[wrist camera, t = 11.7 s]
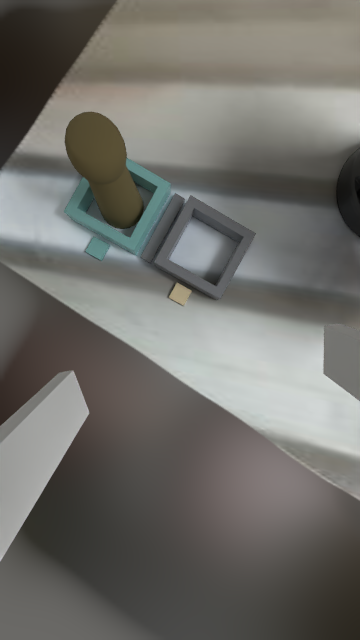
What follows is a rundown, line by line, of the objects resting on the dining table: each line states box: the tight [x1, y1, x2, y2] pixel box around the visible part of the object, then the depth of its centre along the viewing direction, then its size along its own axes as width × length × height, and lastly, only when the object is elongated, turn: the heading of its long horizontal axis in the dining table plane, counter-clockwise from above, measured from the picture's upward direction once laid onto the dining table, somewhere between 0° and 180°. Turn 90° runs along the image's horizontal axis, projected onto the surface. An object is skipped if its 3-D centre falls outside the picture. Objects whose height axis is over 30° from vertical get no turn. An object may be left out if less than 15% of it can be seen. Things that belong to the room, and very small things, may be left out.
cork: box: [65, 112, 144, 229], centre depth 22 cm, size 6×6×11 cm
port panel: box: [64, 158, 256, 306], centre depth 26 cm, size 13×23×2 cm, turn 61°
